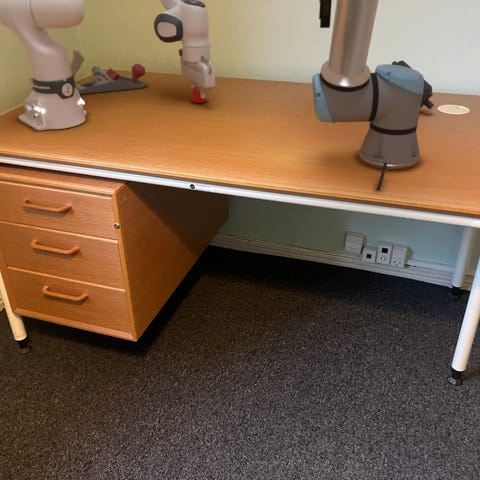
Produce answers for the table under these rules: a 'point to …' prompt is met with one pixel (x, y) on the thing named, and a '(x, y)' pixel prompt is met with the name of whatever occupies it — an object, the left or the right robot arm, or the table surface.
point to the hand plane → (106, 77)
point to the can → (197, 95)
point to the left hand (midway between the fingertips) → (199, 95)
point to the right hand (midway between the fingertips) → (324, 23)
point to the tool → (426, 89)
